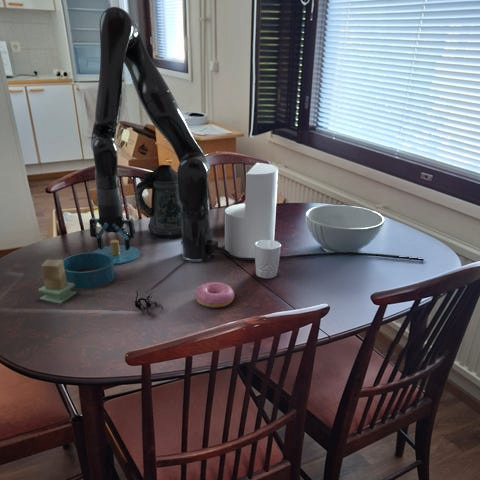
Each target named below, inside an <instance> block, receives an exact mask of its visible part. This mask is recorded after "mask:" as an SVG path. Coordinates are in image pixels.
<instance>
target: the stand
mask: <svg viewBox="0 0 480 480" xmlns="http://www.w3.org/2000/svg"><path fill="white" fill-rule="evenodd" d="M74 286H75V284H74V283H70V282H67V283H66V285H65V286H64V287H63V289H62V290H54V289H46V288H45V284H44V285H43V286H41V287H40V288H38V293H43V295H42V296H40V297H39V300H42V301H47V302H52V303H55V304H63V303H64V302H65V301H67V300H68V299H70V298H71V297H73V296H74V295H76V294H77V291H74V290H72V287H74Z"/></svg>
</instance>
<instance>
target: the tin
mask: <svg viewBox="0 0 480 480" xmlns="http://www.w3.org/2000/svg"><path fill="white" fill-rule="evenodd" d="M62 260H63V264H64V270H65V276H66V281H67V282H70V283H74V284H75V286H74V287H72V288H73V289H81V290H83V289H85V290H86V289H93V288H94V289H95V288H98V287H102V286H104V285H106V284H109V283H111V281H113V280H114V279H115V276H116V275H115V267H114V266H115V265H113V259H112V258H111V257H110V256H109V255H106V254H102V253H92V252H81V253H77V254H72V255H70V256H67V257H64V258H63V259H62ZM85 269H95V270H90V271H89V270H88V271H87V270H86V271H80V270H85ZM72 288H71V289H72Z"/></svg>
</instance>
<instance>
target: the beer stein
mask: <svg viewBox="0 0 480 480" xmlns="http://www.w3.org/2000/svg"><path fill="white" fill-rule="evenodd" d="M142 178H143V180H141V181H139V182H138V183H137V184H136V186H135V192H134V193H135V194H134V195H135V200H136V202H137V204H138V206H139V207H140V208H141V209H142V210H143V211H144V212H145V213H146V214H147V215H148V216H150V218H149V222H148V226H147V228H148V233H149V235H150V236H151V237H153V238H156V239H159V240H166V241H167V240H168V241H170V240H180V239H182V228H181V204H180V200H179V194H178V180H177V171H176V170H175V169H173V168H172V165H171V164H160V165H157V166H156V168H155V169H154V170H153V171H148V172H146V173H144V174H143V177H142ZM145 190H151V198H150V199H151V201H150V206H149V205H148V204H147V202H146V201H145V199H144V198H143V194H144V191H145Z"/></svg>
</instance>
